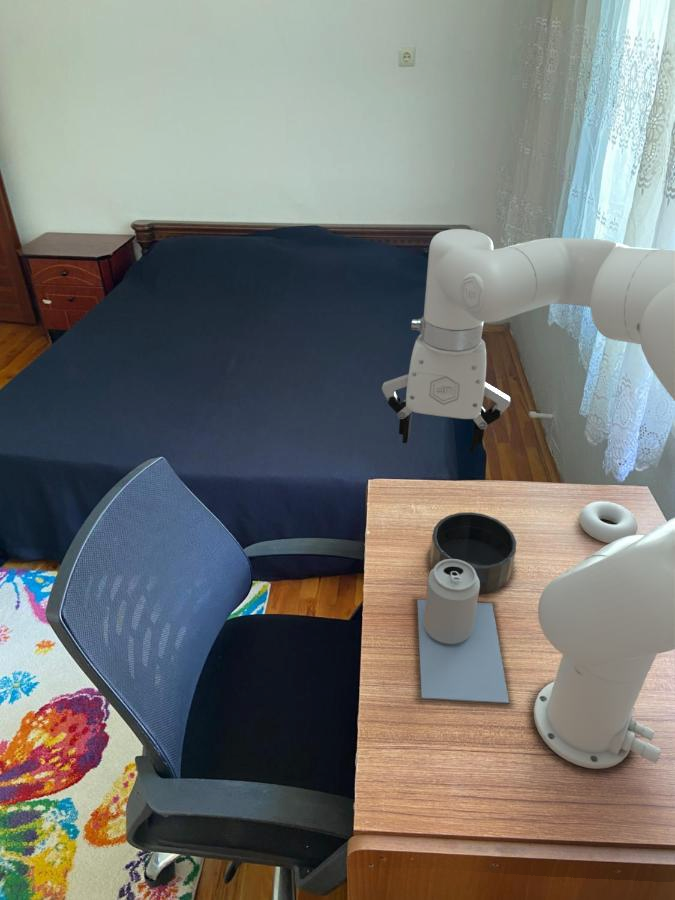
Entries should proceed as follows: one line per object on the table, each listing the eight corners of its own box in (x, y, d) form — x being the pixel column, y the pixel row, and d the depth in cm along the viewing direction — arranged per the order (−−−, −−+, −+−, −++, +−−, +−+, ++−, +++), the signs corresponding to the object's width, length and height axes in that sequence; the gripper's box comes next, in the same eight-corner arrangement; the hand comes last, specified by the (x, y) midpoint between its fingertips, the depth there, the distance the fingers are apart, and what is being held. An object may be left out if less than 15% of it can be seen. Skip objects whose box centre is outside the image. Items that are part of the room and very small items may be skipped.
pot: (522, 556, 113) (528, 531, 109) (491, 607, 103) (496, 580, 100) (451, 527, 119) (454, 502, 116) (415, 572, 110) (418, 546, 106)
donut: (641, 549, 114) (626, 512, 122) (646, 535, 112) (631, 498, 120) (583, 546, 115) (572, 509, 123) (588, 531, 113) (576, 495, 121)
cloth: (417, 600, 104) (417, 599, 104) (491, 604, 104) (492, 603, 103) (421, 698, 90) (421, 697, 89) (508, 703, 89) (509, 702, 89)
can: (466, 608, 102) (475, 553, 96) (476, 647, 96) (486, 591, 90) (419, 609, 102) (425, 555, 96) (426, 648, 96) (433, 592, 89)
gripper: (379, 337, 81) (375, 449, 90) (521, 351, 77) (500, 466, 87) (390, 314, 87) (384, 421, 96) (521, 326, 83) (502, 436, 93)
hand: (439, 442), depth 92 cm, fingers open, 9 cm apart
